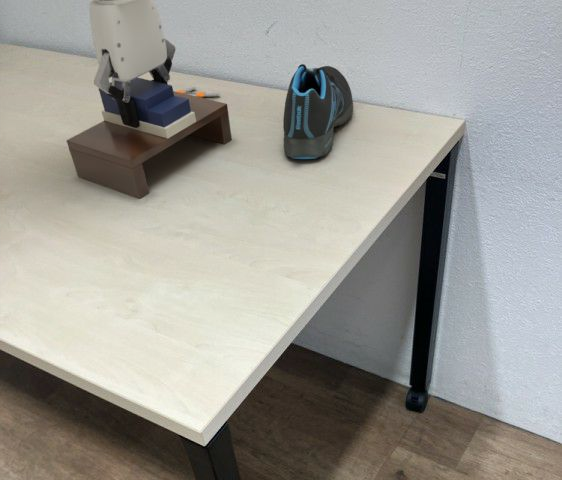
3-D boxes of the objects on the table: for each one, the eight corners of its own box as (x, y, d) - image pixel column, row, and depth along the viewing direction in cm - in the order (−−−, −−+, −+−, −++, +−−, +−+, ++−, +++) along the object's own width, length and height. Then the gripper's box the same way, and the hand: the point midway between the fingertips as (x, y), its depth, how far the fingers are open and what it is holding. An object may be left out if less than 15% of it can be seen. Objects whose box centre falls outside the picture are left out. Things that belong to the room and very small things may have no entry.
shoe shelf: (140, 198, 91) (130, 161, 87) (78, 176, 97) (66, 140, 93) (231, 139, 103) (227, 103, 98) (171, 123, 109) (164, 88, 105)
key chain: (158, 113, 112) (157, 109, 111) (146, 100, 116) (145, 96, 116) (222, 96, 115) (221, 92, 115) (207, 84, 120) (206, 80, 119)
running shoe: (357, 95, 112) (359, 31, 104) (341, 165, 94) (341, 93, 86) (305, 95, 114) (303, 31, 106) (280, 163, 96) (274, 93, 88)
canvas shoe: (103, 120, 97) (94, 88, 93) (132, 105, 100) (125, 73, 97) (167, 138, 91) (160, 104, 87) (196, 121, 94) (190, 88, 91)
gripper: (143, -34, 89) (168, 92, 101) (50, -1, 79) (90, 133, 92) (181, -30, 85) (202, 100, 98) (88, 6, 76) (125, 144, 89)
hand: (147, 115), depth 95 cm, fingers closed on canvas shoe, 6 cm apart
